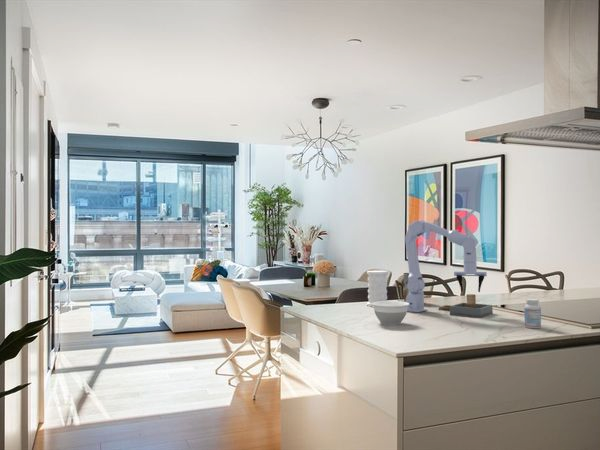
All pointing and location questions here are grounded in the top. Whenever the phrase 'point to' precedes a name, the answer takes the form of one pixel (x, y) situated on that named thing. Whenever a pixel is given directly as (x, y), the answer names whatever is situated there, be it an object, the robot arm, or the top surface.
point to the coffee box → (405, 285)
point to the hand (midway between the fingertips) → (470, 291)
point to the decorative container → (377, 286)
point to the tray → (471, 310)
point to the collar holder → (445, 307)
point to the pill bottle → (532, 314)
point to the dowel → (471, 301)
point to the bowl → (390, 311)
